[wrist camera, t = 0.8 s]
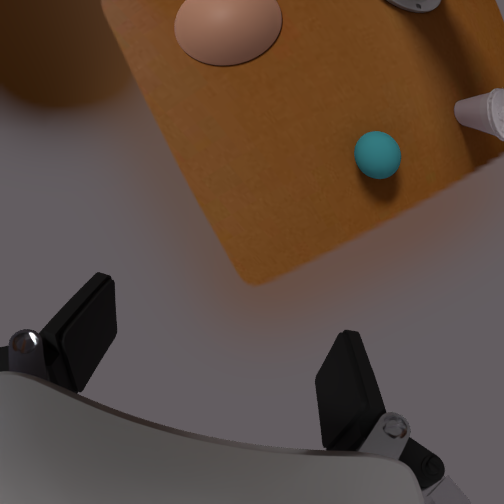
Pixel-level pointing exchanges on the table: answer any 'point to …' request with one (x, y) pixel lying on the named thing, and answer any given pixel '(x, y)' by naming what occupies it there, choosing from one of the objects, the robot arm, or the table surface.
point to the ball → (377, 155)
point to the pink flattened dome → (227, 29)
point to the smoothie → (483, 112)
